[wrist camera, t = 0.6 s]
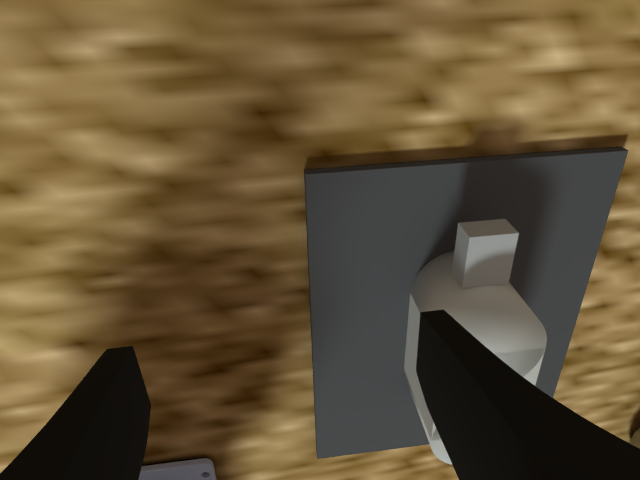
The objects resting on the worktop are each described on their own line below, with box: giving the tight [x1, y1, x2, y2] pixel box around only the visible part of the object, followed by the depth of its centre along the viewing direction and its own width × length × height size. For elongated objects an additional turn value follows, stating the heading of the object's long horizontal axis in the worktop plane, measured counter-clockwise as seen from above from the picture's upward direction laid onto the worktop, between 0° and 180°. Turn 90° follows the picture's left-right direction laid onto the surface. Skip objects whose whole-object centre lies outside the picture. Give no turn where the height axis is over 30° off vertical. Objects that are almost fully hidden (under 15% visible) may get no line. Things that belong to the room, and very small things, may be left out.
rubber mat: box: [304, 147, 628, 459], centre depth 26 cm, size 18×14×1 cm
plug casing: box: [404, 219, 547, 464], centre depth 23 cm, size 12×4×4 cm, turn 1°
